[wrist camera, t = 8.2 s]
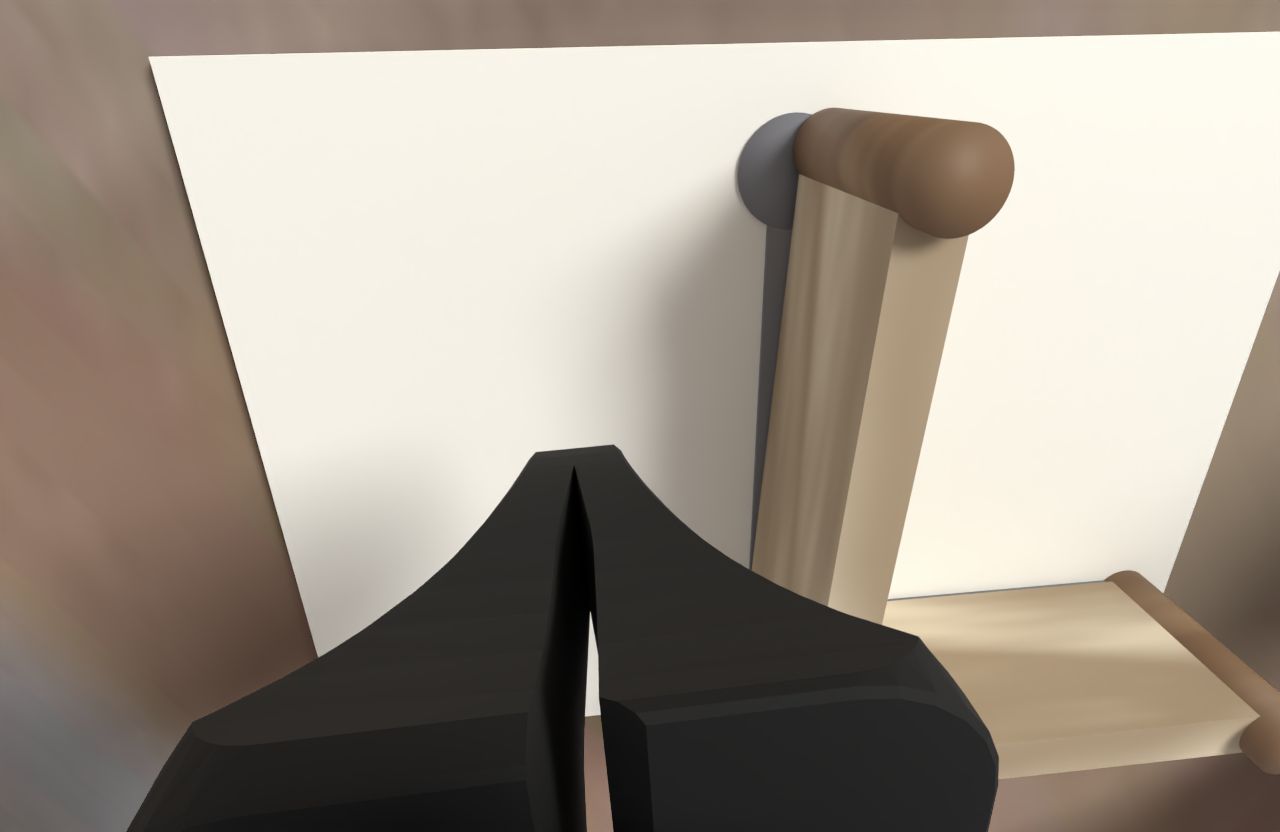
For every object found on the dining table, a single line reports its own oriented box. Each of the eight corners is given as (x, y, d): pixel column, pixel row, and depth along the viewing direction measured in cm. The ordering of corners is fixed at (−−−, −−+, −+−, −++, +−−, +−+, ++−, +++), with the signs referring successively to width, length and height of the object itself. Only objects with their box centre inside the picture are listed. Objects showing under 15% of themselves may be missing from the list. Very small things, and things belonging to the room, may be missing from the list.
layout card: (1131, 655, 23) (1140, 664, 23) (344, 732, 21) (340, 743, 21) (1352, 30, 16) (1370, 29, 15) (157, 57, 14) (146, 56, 13)
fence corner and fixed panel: (1127, 609, 23) (1307, 776, 17) (725, 645, 21) (781, 836, 16) (1145, 556, 22) (1340, 715, 16) (727, 592, 21) (788, 774, 15)
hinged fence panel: (743, 581, 20) (803, 748, 15) (797, 106, 15) (918, 120, 10) (799, 579, 20) (877, 743, 15) (872, 108, 15) (1027, 123, 10)
